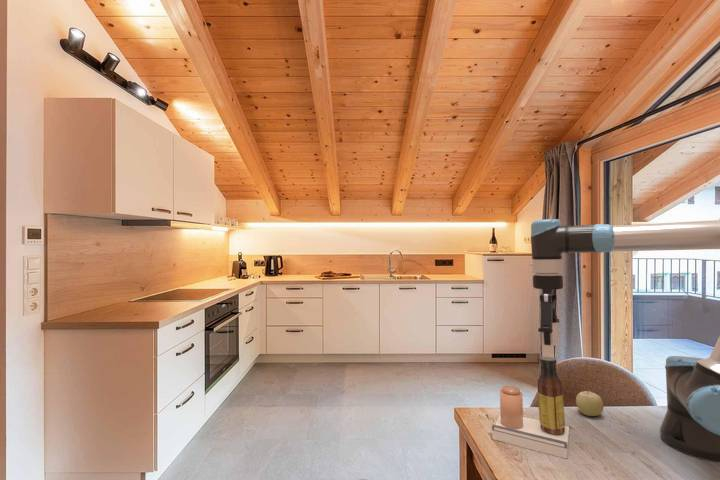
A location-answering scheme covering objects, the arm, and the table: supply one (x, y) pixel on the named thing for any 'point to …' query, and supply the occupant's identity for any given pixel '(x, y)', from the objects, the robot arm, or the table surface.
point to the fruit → (589, 403)
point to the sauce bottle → (550, 398)
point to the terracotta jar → (511, 407)
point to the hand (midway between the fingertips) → (550, 350)
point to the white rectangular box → (533, 437)
